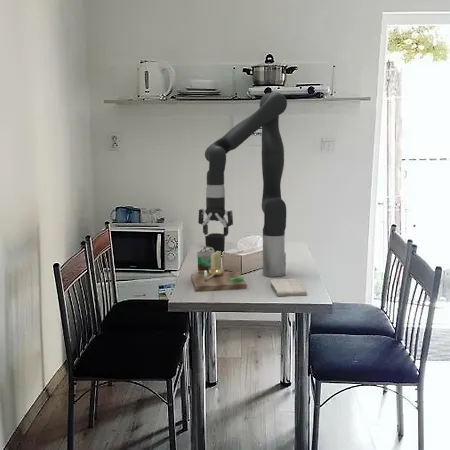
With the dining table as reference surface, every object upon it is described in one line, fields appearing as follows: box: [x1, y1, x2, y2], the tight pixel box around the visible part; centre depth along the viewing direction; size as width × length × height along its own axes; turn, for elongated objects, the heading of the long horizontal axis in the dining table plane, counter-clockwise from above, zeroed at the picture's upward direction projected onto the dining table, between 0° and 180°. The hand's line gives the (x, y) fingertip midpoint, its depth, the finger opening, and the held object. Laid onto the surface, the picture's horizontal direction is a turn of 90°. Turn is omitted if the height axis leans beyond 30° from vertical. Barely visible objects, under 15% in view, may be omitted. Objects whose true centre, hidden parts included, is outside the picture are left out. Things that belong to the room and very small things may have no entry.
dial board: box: [190, 271, 248, 292], centre depth 246 cm, size 20×19×4 cm
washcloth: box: [270, 278, 308, 297], centre depth 237 cm, size 12×18×3 cm, turn 6°
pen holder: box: [204, 232, 226, 255], centre depth 294 cm, size 9×9×10 cm
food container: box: [196, 245, 214, 274], centre depth 263 cm, size 12×6×10 cm, turn 168°
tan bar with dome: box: [204, 251, 224, 281], centre depth 247 cm, size 15×6×9 cm, turn 158°
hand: (215, 235), depth 249 cm, fingers open, 8 cm apart
